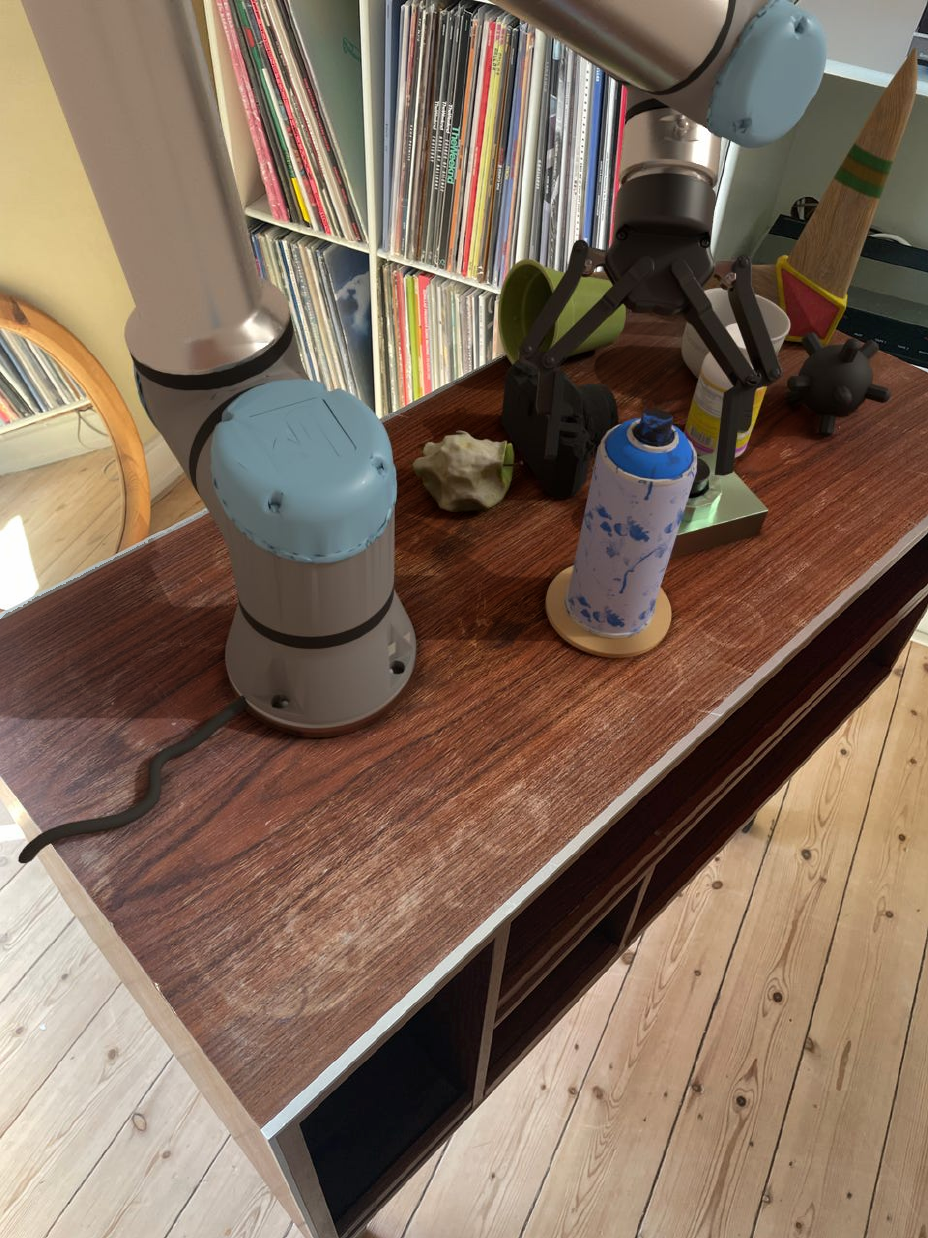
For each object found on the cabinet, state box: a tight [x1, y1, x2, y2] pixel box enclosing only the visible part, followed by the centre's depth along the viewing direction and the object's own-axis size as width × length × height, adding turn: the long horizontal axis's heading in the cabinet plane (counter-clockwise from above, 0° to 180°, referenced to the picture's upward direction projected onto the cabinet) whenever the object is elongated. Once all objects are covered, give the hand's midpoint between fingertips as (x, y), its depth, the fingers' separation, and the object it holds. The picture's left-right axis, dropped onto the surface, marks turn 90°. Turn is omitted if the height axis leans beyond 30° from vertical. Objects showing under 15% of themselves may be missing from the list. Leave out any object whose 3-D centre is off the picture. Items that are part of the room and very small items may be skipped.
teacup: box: [680, 288, 790, 379], centre depth 103 cm, size 14×11×8 cm
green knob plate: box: [669, 452, 770, 561], centre depth 89 cm, size 11×9×5 cm
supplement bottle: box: [683, 323, 768, 459], centre depth 94 cm, size 7×7×13 cm
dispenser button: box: [688, 456, 710, 498], centre depth 86 cm, size 4×4×2 cm
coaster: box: [545, 564, 672, 659], centre depth 82 cm, size 11×11×1 cm
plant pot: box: [497, 258, 627, 365], centre depth 105 cm, size 12×12×11 cm
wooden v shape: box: [589, 46, 919, 346], centre depth 108 cm, size 22×41×6 cm
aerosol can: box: [565, 408, 698, 639], centre depth 74 cm, size 8×8×20 cm
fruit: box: [412, 430, 524, 513], centre depth 89 cm, size 9×9×8 cm
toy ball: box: [784, 332, 892, 438], centre depth 99 cm, size 11×11×12 cm
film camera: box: [500, 360, 620, 500], centre depth 93 cm, size 15×10×9 cm, turn 22°
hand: (636, 466), depth 73 cm, fingers open, 13 cm apart
